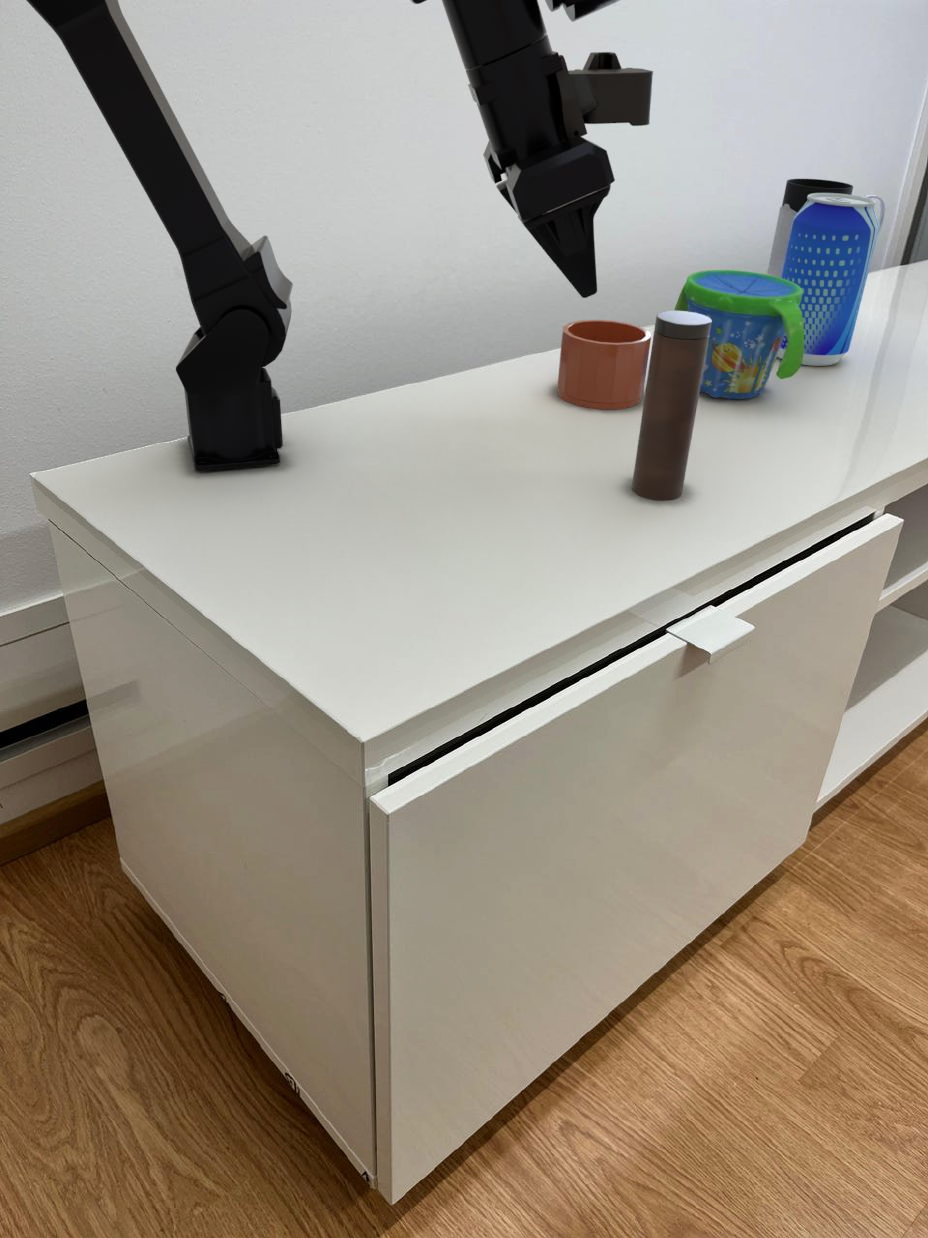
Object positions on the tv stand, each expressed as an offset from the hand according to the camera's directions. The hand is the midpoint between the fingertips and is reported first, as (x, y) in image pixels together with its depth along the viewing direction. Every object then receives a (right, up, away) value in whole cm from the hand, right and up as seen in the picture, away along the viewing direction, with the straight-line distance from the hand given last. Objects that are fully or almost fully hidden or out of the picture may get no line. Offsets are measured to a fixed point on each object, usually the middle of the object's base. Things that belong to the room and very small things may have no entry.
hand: (577, 279), depth 72 cm
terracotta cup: (+4, -4, +21) cm, 21 cm away
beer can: (+29, +3, +34) cm, 45 cm away
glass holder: (+35, +13, +51) cm, 63 cm away
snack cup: (+17, -3, +24) cm, 29 cm away
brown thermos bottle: (+6, -15, +2) cm, 17 cm away
